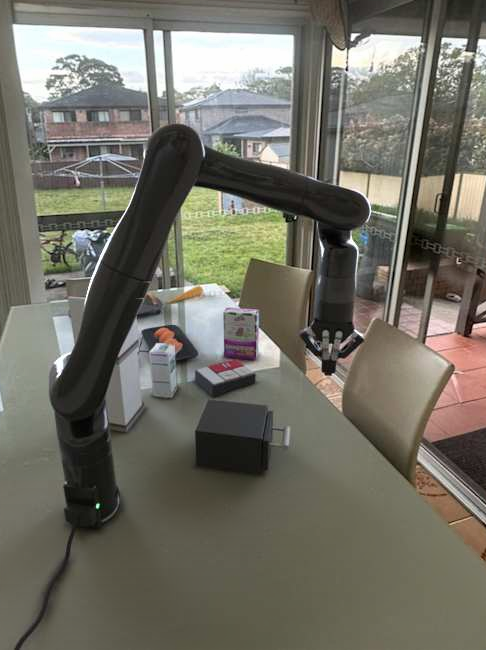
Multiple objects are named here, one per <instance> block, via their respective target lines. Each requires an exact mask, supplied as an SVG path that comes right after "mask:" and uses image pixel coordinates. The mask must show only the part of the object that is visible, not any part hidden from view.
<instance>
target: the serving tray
mask: <svg viewBox="0 0 486 650" xmlns="http://www.w3.org/2000/svg"><path fill="white" fill-rule="evenodd" d="M163 309H164V304H163V302H162V300H161V299H160V298H158V297H156V296H155V295H154V294H153V293H152V292H150V291H148V293H147V295H146V297H145V299H144V301H143V303H142V305H141V307H140V309H139V312H138V314H137V316H138V315H142V314H147V313H152V312H155V313H157V315H161V313H162V310H163ZM67 312H68V317H69V318H70V319H71V317H70V310H69V309H68V311H67Z"/></svg>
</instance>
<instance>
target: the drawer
mask: <svg viewBox="0 0 486 650" xmlns="http://www.w3.org/2000/svg"><path fill="white" fill-rule="evenodd" d="M274 431H277V432H278V431H279V432H283V433H282V441H281V443H275V442H273V433H274ZM291 431H292V428H291V426H290V425H285V426H284V427H282V426H281V427H280V426H274V410H268V416H267V421H266V427H265V432H264V438H263V456H262V471H268V470H269V463H270V457H271V452H272V451H271V450H272V448H280V449H281V450H282V451H284V452H287V451H289V450H290V441H291Z"/></svg>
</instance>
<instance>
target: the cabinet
mask: <svg viewBox="0 0 486 650" xmlns="http://www.w3.org/2000/svg"><path fill="white" fill-rule="evenodd" d="M268 411H269V406H268V405H264V404H256V403H255V404H254V403H246V402H236V401H229V400H228V401H226V400H217V399H207V401H206V404H205V406H204V408H203V411H202V413H201V416H200V418H199V420H198V422H197V424H196V428H195V430H194V439H195V440H194V441H195V465H196V467H199V468H200V467H201V468H206V469H207V468H208V469H215V470H222V471H229V472H237V473H245V474H252V475H258V476H259V475H260V476H261V475H262V471H263V470H262V456H263V438H264V432H265V427H266V421H267V416H268Z"/></svg>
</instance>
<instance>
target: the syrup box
mask: <svg viewBox="0 0 486 650" xmlns="http://www.w3.org/2000/svg"><path fill="white" fill-rule="evenodd" d="M149 351H150V352H148V355H149V365H150V377H151V385H152V386H151V388H152V396H153V397H157V398H166V399H172V398H173V396H174V395H175V393H176V391H177V389H178V374H177V372H178V371H177V361H176V358H175V345H173V344H167V343H156V345H155V346H154V347H153V348H152V349H151V350H149Z"/></svg>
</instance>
